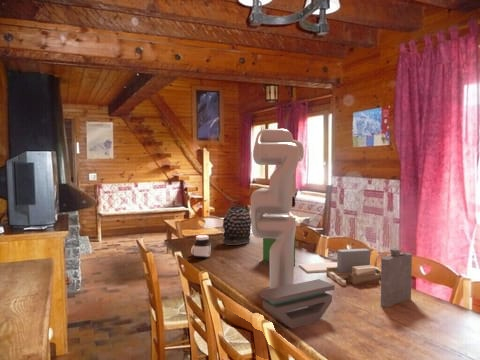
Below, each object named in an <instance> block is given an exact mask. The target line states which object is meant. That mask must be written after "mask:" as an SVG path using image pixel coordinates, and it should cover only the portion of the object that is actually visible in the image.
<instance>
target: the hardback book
mask: <svg viewBox="0 0 480 360" xmlns="http://www.w3.org/2000/svg"><path fill="white" fill-rule="evenodd" d="M293 218H294V219H295V220H296V217H293ZM275 241H276V239H273V238H262V259H263V261H265V262H268V263H270V248H271V246H272V244H273V243H274V242H275ZM294 266H296V237H295V238H294Z"/></svg>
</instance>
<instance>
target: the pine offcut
mask: <svg viewBox="0 0 480 360" xmlns="http://www.w3.org/2000/svg"><path fill="white" fill-rule="evenodd" d="M371 265H372V264H370V265H365V266H355V267H352V274H354V275H356V276H364V275H374V274H376V267H377V266H375V267H373V266H374V265H373V266H371Z"/></svg>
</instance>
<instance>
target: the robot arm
mask: <svg viewBox="0 0 480 360" xmlns="http://www.w3.org/2000/svg"><path fill="white" fill-rule="evenodd" d="M304 148H305V147H304V146H303V143H302V142H301V141H299V140H296V139H294V137H293V134H292V132H290V130H288V129H285V128H263V129H261V130H260V131H258V133H257V135H256V138H255V142H254V145H253V150H252V157H253V161H254V163H255V164H257V165H259V166H274V165H275V166H277V168H276V169H274V171H273V173H272V174H271V175H270V177H269V188H258V189H255V190H254V191H253V192H252V193H251V197H250V207H251V208H250V216H251V217H250V218H251V232H252V233H251V234H252V235H253V236H254V237H255V238H257V239H263V238H273V239H276V241H275V242H274V243H273V244H272V246H271V248H270V262H269V287H267V288H266V289H265V290H268V289H273V288H278V287H283V286H288V285H292V284H295V283H294V282H295V281H294V279H295V278H294V274H295V273H294V271H295V270H294V266H295V265H294V238H295V239H296V231H297V221H296V218H295V217H293V216H292V215H290V214H288V213H291V210H292V207H296V199H297V195H298V191H299V189H298V188H297V184H296V177H295V173H296V171H297V167H298V164H299V163H300V162H301V161H303V160H304V155H305V153H304V152H305V149H304ZM294 218H295V219H294Z"/></svg>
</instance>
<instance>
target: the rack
mask: <svg viewBox="0 0 480 360" xmlns="http://www.w3.org/2000/svg"><path fill="white" fill-rule="evenodd" d="M370 265H371V266H373V267H376V273H377V274H379V280H381V268H379V267H377V266H375V265H373V264H370ZM349 273H352V272H349ZM326 275H327V276H328V277H329V278H330V279H332V280H334V281H335V282H336V283H338V284H339V285H340V286H342V287H345V286H347V280H348V273H337V267H327V272H326Z"/></svg>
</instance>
